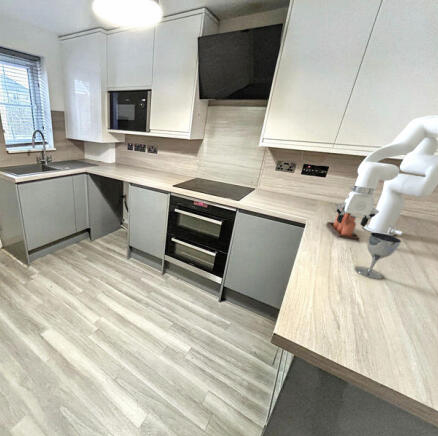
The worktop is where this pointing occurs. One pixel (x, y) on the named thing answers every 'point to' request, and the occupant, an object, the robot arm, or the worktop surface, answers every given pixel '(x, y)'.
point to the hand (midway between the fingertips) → (350, 223)
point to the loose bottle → (349, 226)
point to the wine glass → (379, 251)
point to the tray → (330, 224)
